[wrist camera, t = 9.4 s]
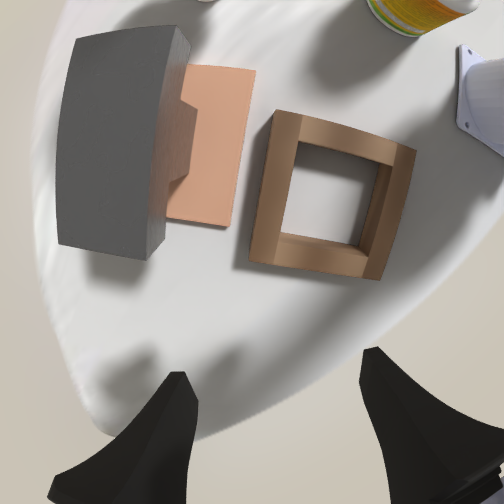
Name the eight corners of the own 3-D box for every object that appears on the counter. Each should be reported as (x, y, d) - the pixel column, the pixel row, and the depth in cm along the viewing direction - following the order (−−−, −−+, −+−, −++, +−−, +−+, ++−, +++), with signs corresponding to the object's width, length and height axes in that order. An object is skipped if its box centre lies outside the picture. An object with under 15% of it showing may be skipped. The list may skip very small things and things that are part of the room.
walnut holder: (401, 148, 16) (416, 150, 14) (369, 268, 19) (379, 280, 17) (273, 113, 15) (275, 109, 13) (249, 248, 19) (248, 260, 17)
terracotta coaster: (256, 72, 14) (256, 70, 14) (230, 224, 18) (229, 226, 17) (111, 68, 14) (107, 67, 13) (96, 205, 17) (92, 207, 17)
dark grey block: (188, 212, 17) (146, 260, 10) (125, 204, 17) (58, 244, 10) (209, 72, 14) (176, 25, 7) (140, 71, 13) (76, 38, 6)
